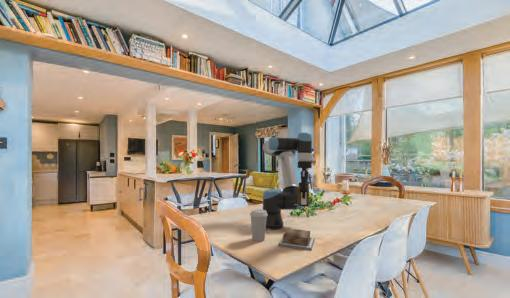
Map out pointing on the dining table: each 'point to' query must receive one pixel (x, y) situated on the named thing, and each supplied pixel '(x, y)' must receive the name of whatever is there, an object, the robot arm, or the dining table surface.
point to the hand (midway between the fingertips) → (304, 203)
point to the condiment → (306, 196)
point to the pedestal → (296, 237)
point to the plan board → (298, 245)
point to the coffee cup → (258, 224)
